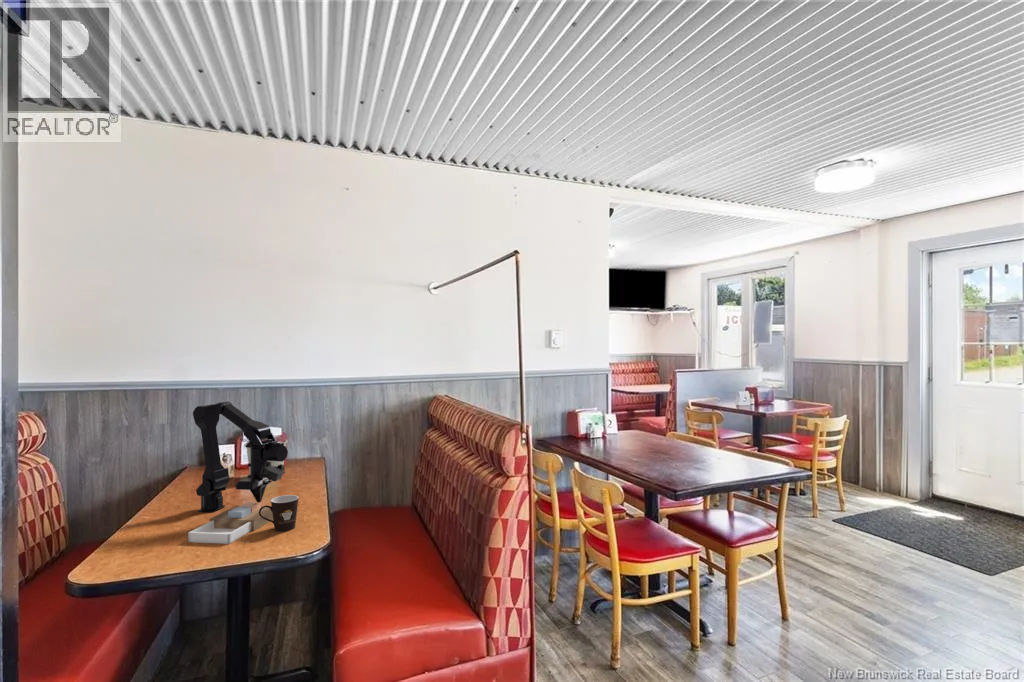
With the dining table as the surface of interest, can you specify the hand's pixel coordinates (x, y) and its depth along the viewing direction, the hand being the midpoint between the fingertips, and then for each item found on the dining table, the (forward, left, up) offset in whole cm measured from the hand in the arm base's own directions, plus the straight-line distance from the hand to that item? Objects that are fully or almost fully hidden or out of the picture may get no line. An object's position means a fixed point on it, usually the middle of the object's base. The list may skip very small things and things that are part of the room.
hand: (259, 502), depth 185 cm
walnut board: (0, -8, -4) cm, 9 cm away
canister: (-28, +49, -5) cm, 56 cm away
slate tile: (0, -11, -1) cm, 11 cm away
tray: (0, -21, -4) cm, 21 cm away
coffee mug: (+15, -12, -5) cm, 20 cm away
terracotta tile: (0, -6, -1) cm, 6 cm away
